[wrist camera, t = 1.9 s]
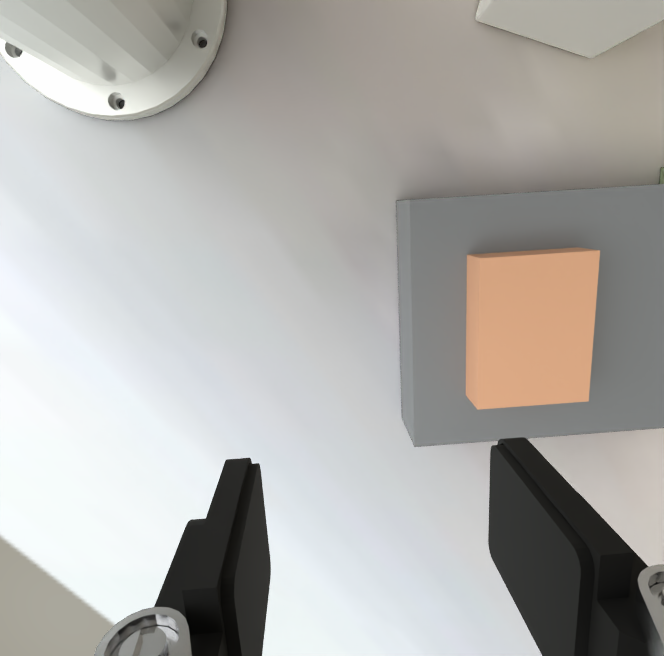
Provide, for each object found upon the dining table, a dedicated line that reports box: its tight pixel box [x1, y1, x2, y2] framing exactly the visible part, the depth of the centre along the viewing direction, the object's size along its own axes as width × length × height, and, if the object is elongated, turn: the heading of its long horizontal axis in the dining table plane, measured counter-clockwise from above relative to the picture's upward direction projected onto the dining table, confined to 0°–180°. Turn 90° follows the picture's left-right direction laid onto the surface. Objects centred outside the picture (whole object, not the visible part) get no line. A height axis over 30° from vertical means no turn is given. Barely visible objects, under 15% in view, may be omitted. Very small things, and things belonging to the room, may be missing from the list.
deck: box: [396, 184, 664, 447], centre depth 28 cm, size 14×16×4 cm
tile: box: [466, 247, 600, 410], centre depth 25 cm, size 8×6×2 cm
